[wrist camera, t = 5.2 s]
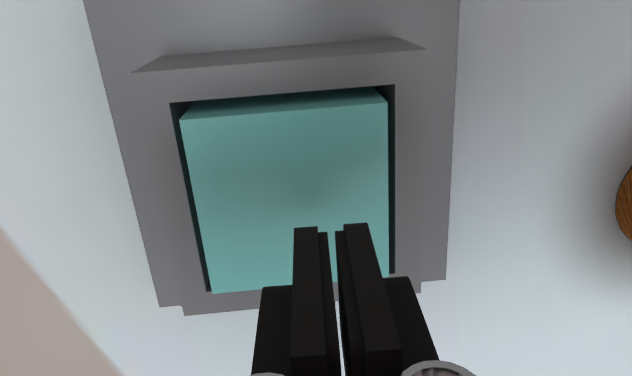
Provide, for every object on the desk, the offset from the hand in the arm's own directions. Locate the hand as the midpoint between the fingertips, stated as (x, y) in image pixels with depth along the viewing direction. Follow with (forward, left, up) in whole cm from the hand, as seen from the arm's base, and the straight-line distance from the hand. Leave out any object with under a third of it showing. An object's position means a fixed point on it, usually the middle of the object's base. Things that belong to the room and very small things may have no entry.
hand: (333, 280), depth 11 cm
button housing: (+1, 0, -11) cm, 11 cm away
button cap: (+1, 0, -9) cm, 9 cm away
